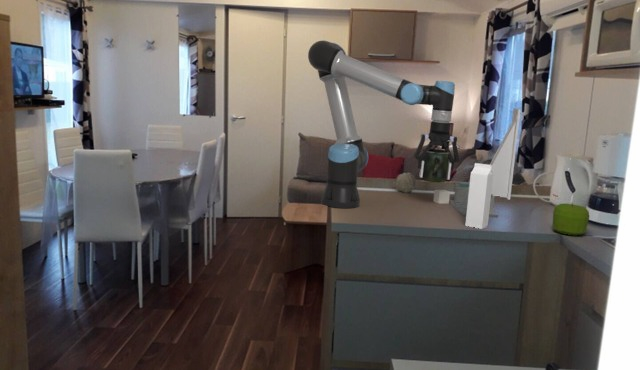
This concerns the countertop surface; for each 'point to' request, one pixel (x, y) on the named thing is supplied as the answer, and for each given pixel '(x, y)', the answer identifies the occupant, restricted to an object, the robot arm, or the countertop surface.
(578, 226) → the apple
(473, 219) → the milk
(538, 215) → the countertop surface
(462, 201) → the grey storage bin
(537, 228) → the countertop surface
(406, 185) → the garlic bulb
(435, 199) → the loose relay
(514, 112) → the white slanted panel
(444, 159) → the mug
